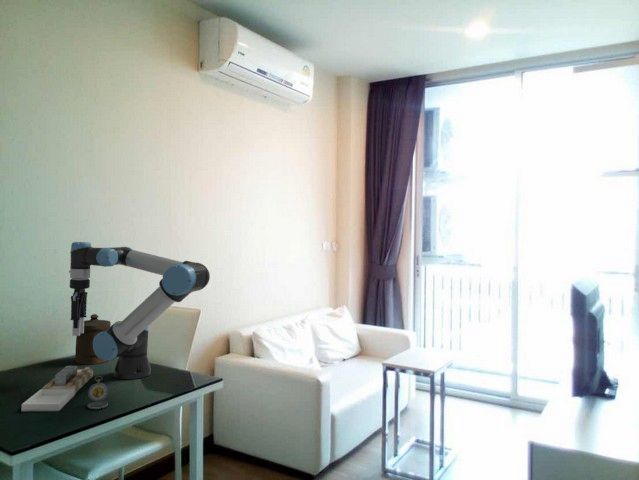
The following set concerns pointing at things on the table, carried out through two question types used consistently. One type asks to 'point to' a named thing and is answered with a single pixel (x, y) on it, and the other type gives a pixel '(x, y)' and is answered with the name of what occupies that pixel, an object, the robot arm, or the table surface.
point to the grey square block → (70, 372)
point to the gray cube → (72, 368)
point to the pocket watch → (98, 394)
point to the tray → (48, 400)
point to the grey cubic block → (62, 378)
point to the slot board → (73, 380)
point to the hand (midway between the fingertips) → (78, 334)
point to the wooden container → (89, 340)
